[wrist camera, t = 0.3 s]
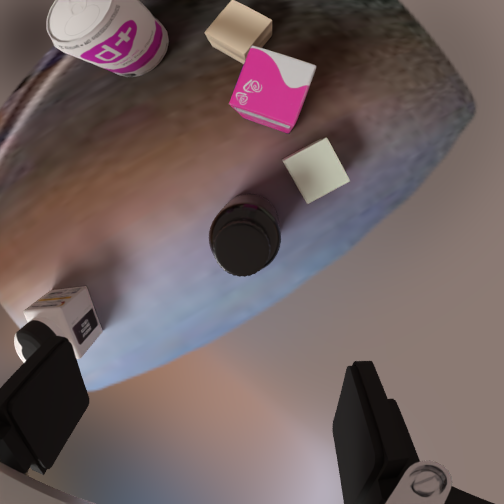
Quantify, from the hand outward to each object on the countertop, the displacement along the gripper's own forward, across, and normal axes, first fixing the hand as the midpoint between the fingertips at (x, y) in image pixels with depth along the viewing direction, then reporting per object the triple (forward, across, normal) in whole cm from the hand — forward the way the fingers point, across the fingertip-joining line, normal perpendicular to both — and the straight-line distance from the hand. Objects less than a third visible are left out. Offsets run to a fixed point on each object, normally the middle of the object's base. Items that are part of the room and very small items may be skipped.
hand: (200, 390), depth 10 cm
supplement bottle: (+30, 0, +1) cm, 30 cm away
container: (+30, +26, +15) cm, 43 cm away
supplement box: (+30, -2, -13) cm, 33 cm away
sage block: (+30, -7, -5) cm, 31 cm away
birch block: (+30, +2, -21) cm, 37 cm away
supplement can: (+30, +14, -21) cm, 39 cm away
